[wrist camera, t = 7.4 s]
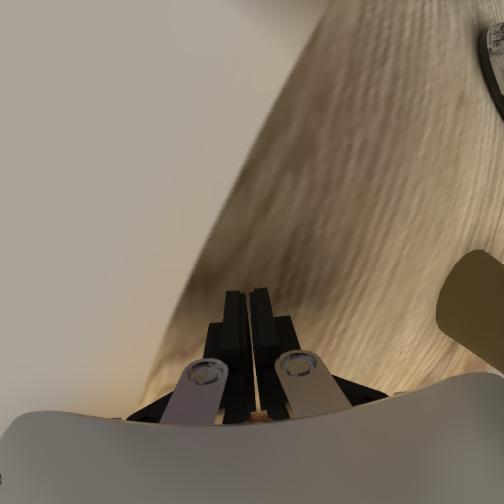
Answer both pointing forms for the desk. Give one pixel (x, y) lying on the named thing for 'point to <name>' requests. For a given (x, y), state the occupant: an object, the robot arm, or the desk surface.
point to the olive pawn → (475, 306)
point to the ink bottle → (494, 61)
